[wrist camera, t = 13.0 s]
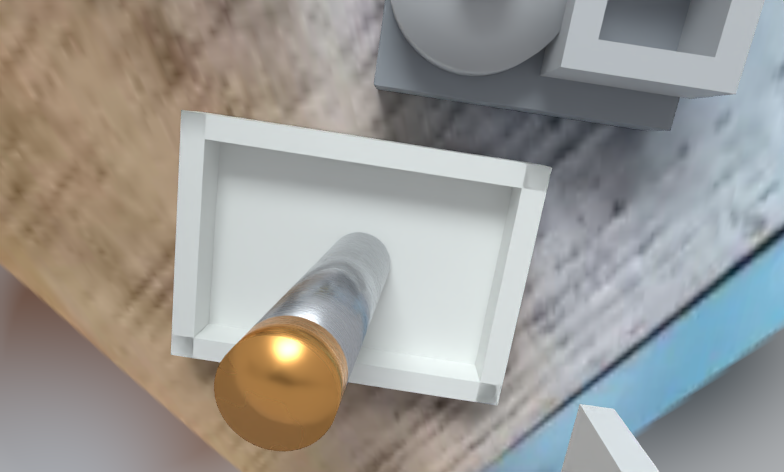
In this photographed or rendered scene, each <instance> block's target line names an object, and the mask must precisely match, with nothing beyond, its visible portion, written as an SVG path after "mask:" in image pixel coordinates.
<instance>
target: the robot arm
mask: <svg viewBox="0 0 784 472" xmlns="http://www.w3.org/2000/svg"><path fill="white" fill-rule="evenodd" d="M561 472H659V471H658V469H657V468H656V466H655V465H654V464H653V462H652V461H651V459H650V458H649V457H648V455H647V454H646V452H645V451H644V450H643V448H642V447H641V446H640V444H639V443H638V441H637V440H636V439H635V437H634V436H633V434H632V433H631V432H630V430H629V429H628V428H627V426H626V425H625V423H624V422H623V421H622V419H621V418H620V417H619V415H618V414H617V412H616V411H615V410H614V409H610V408H603V407H596V406H589V405H582V404H580V405H579V409H578V413H577V416H576V420H575V423H574V427H573V431H572V434H571V438H570V442H569V445H568V449H567V452H566V456H565V460H564V463H563V467H562V471H561Z"/></svg>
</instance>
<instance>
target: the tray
mask: <svg viewBox="0 0 784 472" xmlns="http://www.w3.org/2000/svg"><path fill="white" fill-rule="evenodd" d="M551 170H552V167H549V166H545V165H541V164H537V163H530V162H524V161H518V160H511V159H505V158H498V157H492V156H485V155H479V154H472V153H466V152H459V151H453V150H446V149H440V148H433V147H427V146H421V145H414V144H408V143H401V142H395V141H388V140H382V139H375V138H369V137H362V136H356V135H349V134H343V133H336V132H330V131H324V130H317V129H311V128H304V127H298V126H291V125H285V124H278V123H272V122H265V121H259V120H252V119H246V118H239V117H233V116H226V115H220V114H214V113H207V112H198V111H186V110H181V131H180V154H179V177H178V201H177V224H176V247H175V271H174V294H173V318H172V341H171V355H177V356H183V357H190V358H196V359H202V360H209V361H215V362H221V361H222V359H223V358H224V356H225V355H226V354H227V353H228V352H229V351H230V350H231V349H232V348H233V347H234V346H235V345H236V344H237V343H238V342H239V341H240V339H241V338H242V337H243V336H244V335H245V334H246V333H247V332H248V331H249V330H250V329H251V328H252V327H253V326H254V325H255V324H256V323H257V322H258V321H259V320H260V319H261V318H262V317H263V316H264V315H265V314H266V313H267V312H268V311H269V310H270V309H271V308H272V307H273V306H274V305H275V304H276V303H277V302H278V301H279V300H280V299H281V298H282V297H283V296H284V295H285V294H286V293H287V292H288V291H289V290H290V289H291V288H292V287H293V286H294V285H295V284H296V283H297V282H298V281H299V279H300V278H301V277H302V276H303V275H304V274H305V273H306V272H307V271H308V270H309V269H310V268H311V267H312V266H313V265H314V264H315V263H316V262H317V261H318V260H319V259H320V258H321V257H322V256H323V255H324V254H325V253H326V252H327V251H328V250H329V249H330V248H331V247H332V246H333V245H334V244H335V243H336V242H337V241H338V240H339V239H340V238H341V237H343V236H345V235H347V234H350V233H355V232H363V233H367V234H370V235H373V236H374V237H376V238H377V239H379V240H380V241H381V242H382V243H383V244H384V245H385V247H386V249H387V251H388V253H389V256H390V270H389V273H388V276H387V279H386V281H385V284H384V287H383V289H382V292H381V295H380V297H379V300H378V303H377V305H376V308H375V311H374V314H373V316H372V319H371V322H370V324H369V327H368V330H367V332H366V335H365V338H364V340H363V343H362V346H361V348H360V351H359V354H358V357H357V359H356V362H355V365H354V367H353V370H352V373H351V375H350V378H349V381H348V382H350V383H356V384H363V385H369V386H376V387H382V388H389V389H395V390H401V391H408V392H414V393H421V394H427V395H433V396H440V397H446V398H453V399H459V400H466V401H472V402H478V403H485V404H491V405H498V401H499V397H500V393H501V388H502V384H503V380H504V375H505V371H506V366H507V362H508V358H509V353H510V349H511V345H512V340H513V336H514V332H515V327H516V323H517V318H518V314H519V310H520V305H521V301H522V297H523V292H524V288H525V284H526V279H527V275H528V270H529V266H530V262H531V257H532V253H533V249H534V244H535V240H536V236H537V231H538V227H539V222H540V218H541V214H542V209H543V205H544V201H545V196H546V192H547V188H548V183H549V179H550V175H551Z"/></svg>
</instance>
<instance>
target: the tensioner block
mask: <svg viewBox="0 0 784 472" xmlns="http://www.w3.org/2000/svg"><path fill="white" fill-rule="evenodd" d="M764 1H765V0H385V6H384V13H383V21H382V28H381V35H380V43H379V50H378V58H377V65H376V73H375V80H374V85H375V87H376V88H377V89H379V90H386V91H392V92H399V93H405V94H412V95H418V96H424V97H431V98H437V99H444V100H450V101H457V102H463V103H470V104H476V105H483V106H489V107H496V108H502V109H509V110H515V111H522V112H528V113H535V114H541V115H548V116H554V117H561V118H567V119H573V120H580V121H586V122H593V123H599V124H606V125H612V126H619V127H625V128H632V129H638V130H671V126H672V123H673V119H674V116H675V112H676V109H677V105H678V102H679V98H680V97H681V98H688V99H694V98H703V97H713V96H722V95H731V94H736V91H737V88H738V85H739V82H740V79H741V75H742V72H743V69H744V66H745V62H746V59H747V56H748V53H749V49H750V46H751V43H752V40H753V37H754V33H755V30H756V27H757V24H758V20H759V17H760V14H761V11H762V7H763V4H764Z"/></svg>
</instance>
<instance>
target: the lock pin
mask: <svg viewBox="0 0 784 472" xmlns="http://www.w3.org/2000/svg"><path fill="white" fill-rule="evenodd" d="M389 270H390V256H389V253H388V251H387V249H386V247H385V245H384V244H383V243H382V242H381V241H380V240H379V239H377V238H376V237H374V236H373V235H370V234H367V233H363V232H355V233H350V234H347V235H345V236H343V237H341V238H340V239H339V240H338V241H337V242H336V243H335V244H334V245H333V246H332V247H331V248H330V249H329V250H328V251H327V252H326V253H325V254H324V255H323V256H322V257H321V258H320V259H319V260H318V261H317V262H316V263H315V264H314V265H313V266H312V267H311V268H310V269H309V270H308V271H307V272H306V273H305V274H304V275H303V276H302V277H301V278H300V279H299V281H298V282H297V283H296V284H295V285H294V286H293V287H292V288H291V289H290V290H289V291H288V292H287V293H286V294H285V295H284V296H283V297H282V298H281V299H280V300H279V301H278V302H277V303H276V304H275V305H274V306H273V307H272V308H271V309H270V310H269V311H268V312H267V313H266V314H265V315H264V316H263V317H262V318H261V319H260V320H259V321H258V322H257V323H256V324H255V325H254V326H253V327H252V328H251V329H250V330H249V331H248V332H247V333H246V334H245V335H244V336H243V337H242V338H241V339H240V341H239V342H238V343H237V344H236V345H235V346H234V347H233V348H232V349H231V350H230V351H229V352H228V353H227V354H226V355H225V356H224V358H223V359H222V361H221V362H220V364H219V366H218V369H217V372H216V375H215V381H214V392H215V399H216V403H217V406H218V408H219V411H220V413H221V415H222V416H223V418H224V420H225V421H226V422H227V424H228V425H229V426H230V427H231V428H232V430H233V431H234V432H236V433H237V434H238V435H239V436H240V437H242V438H243V439H245V440H246V441H248V442H250V443H252V444H253V445H256V446H258V447H261V448H264V449H268V450H274V451H293V450H298V449H301V448H304V447H307V446H309V445H311V444H313V443H314V442H316V441H317V440H319V439H320V438H321V437H322V436H323V435H324V434H325V433H326V432H327V431H328V429H329V428H330V426H331V425H332V423H333V421H334V418H335V416H336V413H337V410H338V408H339V405H340V402H341V399H342V397H343V394H344V391H345V389H346V386H347V383H348V381H349V378H350V375H351V373H352V370H353V367H354V365H355V362H356V359H357V357H358V354H359V351H360V348H361V346H362V343H363V340H364V338H365V335H366V332H367V330H368V327H369V324H370V322H371V319H372V316H373V314H374V311H375V308H376V305H377V303H378V300H379V297H380V295H381V292H382V289H383V287H384V284H385V281H386V279H387V276H388V273H389Z"/></svg>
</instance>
